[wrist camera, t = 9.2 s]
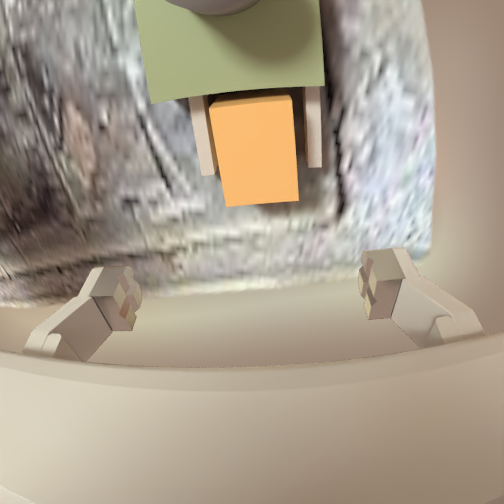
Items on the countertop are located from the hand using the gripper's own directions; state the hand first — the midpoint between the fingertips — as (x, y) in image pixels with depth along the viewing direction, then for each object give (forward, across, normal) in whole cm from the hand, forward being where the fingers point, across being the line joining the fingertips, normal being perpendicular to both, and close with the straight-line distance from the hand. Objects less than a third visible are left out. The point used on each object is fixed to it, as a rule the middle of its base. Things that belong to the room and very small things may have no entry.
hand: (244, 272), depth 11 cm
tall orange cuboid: (+16, 0, 0) cm, 16 cm away
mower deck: (+16, 0, -8) cm, 18 cm away
